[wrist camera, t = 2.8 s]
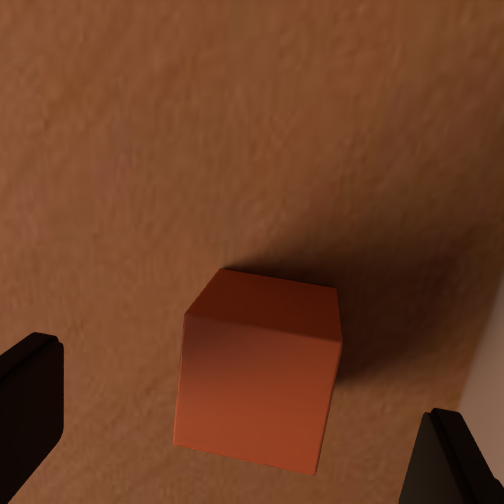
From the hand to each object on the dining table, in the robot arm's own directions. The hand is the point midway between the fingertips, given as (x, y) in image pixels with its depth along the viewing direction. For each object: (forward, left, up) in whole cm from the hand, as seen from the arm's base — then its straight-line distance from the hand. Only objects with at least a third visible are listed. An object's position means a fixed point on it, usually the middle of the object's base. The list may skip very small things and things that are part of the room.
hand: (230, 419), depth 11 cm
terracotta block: (0, 0, -6) cm, 6 cm away
